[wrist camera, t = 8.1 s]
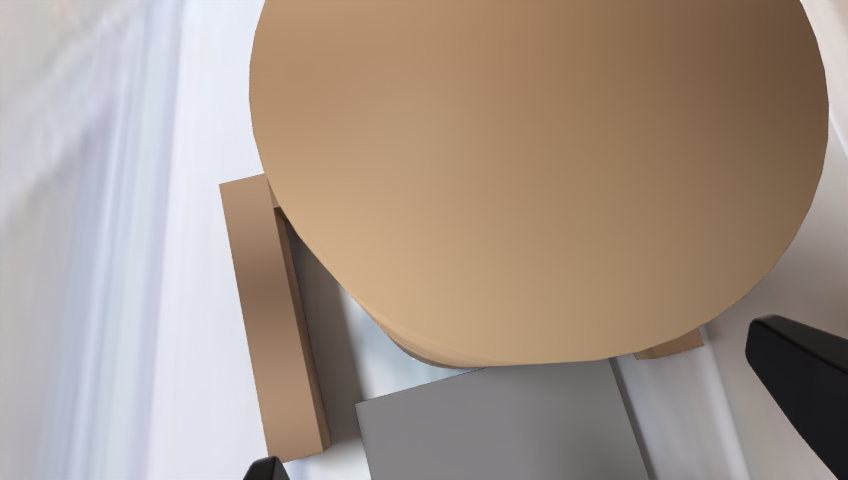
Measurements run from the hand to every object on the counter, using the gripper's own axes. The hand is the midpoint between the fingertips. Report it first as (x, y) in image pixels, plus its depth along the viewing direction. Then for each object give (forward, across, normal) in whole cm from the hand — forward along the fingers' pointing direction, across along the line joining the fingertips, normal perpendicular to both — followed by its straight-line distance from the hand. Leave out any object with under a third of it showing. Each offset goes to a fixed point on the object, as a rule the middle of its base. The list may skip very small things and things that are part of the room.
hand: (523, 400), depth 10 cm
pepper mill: (+8, 0, +3) cm, 8 cm away
